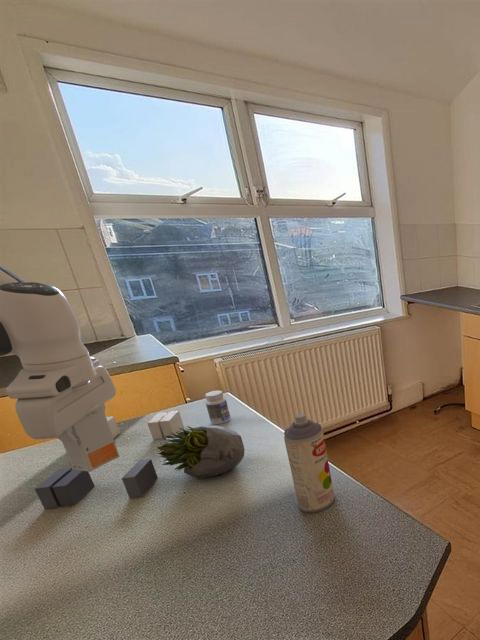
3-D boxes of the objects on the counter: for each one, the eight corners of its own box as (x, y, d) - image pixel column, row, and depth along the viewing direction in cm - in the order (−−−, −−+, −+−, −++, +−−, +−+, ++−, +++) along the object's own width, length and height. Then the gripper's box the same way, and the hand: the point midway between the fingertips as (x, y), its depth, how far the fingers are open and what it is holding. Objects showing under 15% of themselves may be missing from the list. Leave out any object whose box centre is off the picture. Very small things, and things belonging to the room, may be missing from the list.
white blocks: (96, 445, 107) (89, 427, 105) (110, 434, 113) (103, 417, 111) (174, 437, 112) (168, 420, 110) (184, 426, 117) (178, 410, 115)
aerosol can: (329, 512, 86) (313, 423, 78) (293, 514, 85) (273, 424, 77) (338, 491, 92) (324, 407, 84) (305, 492, 91) (288, 408, 84)
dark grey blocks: (44, 509, 85) (34, 488, 83) (67, 488, 91) (58, 468, 89) (142, 497, 89) (134, 476, 87) (158, 477, 95) (151, 458, 93)
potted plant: (246, 466, 94) (158, 474, 84) (235, 480, 103) (154, 489, 93) (243, 414, 98) (159, 416, 88) (233, 432, 106) (154, 435, 96)
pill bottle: (227, 423, 119) (220, 395, 116) (208, 425, 118) (200, 397, 115) (233, 415, 123) (226, 389, 120) (214, 417, 122) (207, 390, 119)
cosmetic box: (91, 472, 85) (69, 418, 80) (72, 470, 85) (50, 416, 81) (121, 456, 90) (102, 405, 86) (104, 454, 91) (84, 402, 86)
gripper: (76, 354, 88) (99, 414, 94) (-4, 394, 70) (30, 465, 76) (113, 353, 90) (133, 412, 95) (44, 391, 72) (74, 461, 77)
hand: (87, 436), depth 85 cm, fingers closed on cosmetic box, 7 cm apart
